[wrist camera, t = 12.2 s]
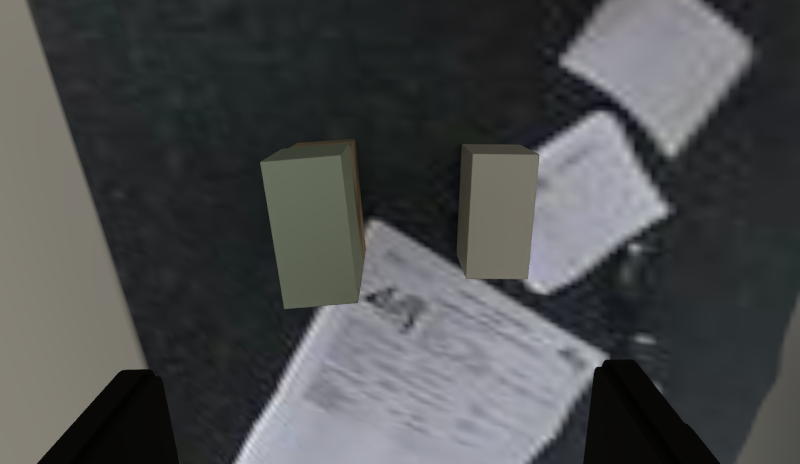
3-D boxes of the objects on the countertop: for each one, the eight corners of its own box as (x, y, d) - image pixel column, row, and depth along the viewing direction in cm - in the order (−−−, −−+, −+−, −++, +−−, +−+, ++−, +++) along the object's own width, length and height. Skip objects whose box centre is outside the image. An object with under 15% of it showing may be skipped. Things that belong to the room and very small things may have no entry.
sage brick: (281, 149, 30) (260, 162, 25) (348, 143, 30) (340, 155, 25) (300, 274, 32) (284, 308, 27) (363, 269, 32) (358, 302, 27)
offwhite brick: (461, 143, 35) (472, 153, 30) (519, 144, 35) (539, 154, 30) (456, 253, 37) (465, 278, 32) (510, 253, 37) (527, 279, 33)
